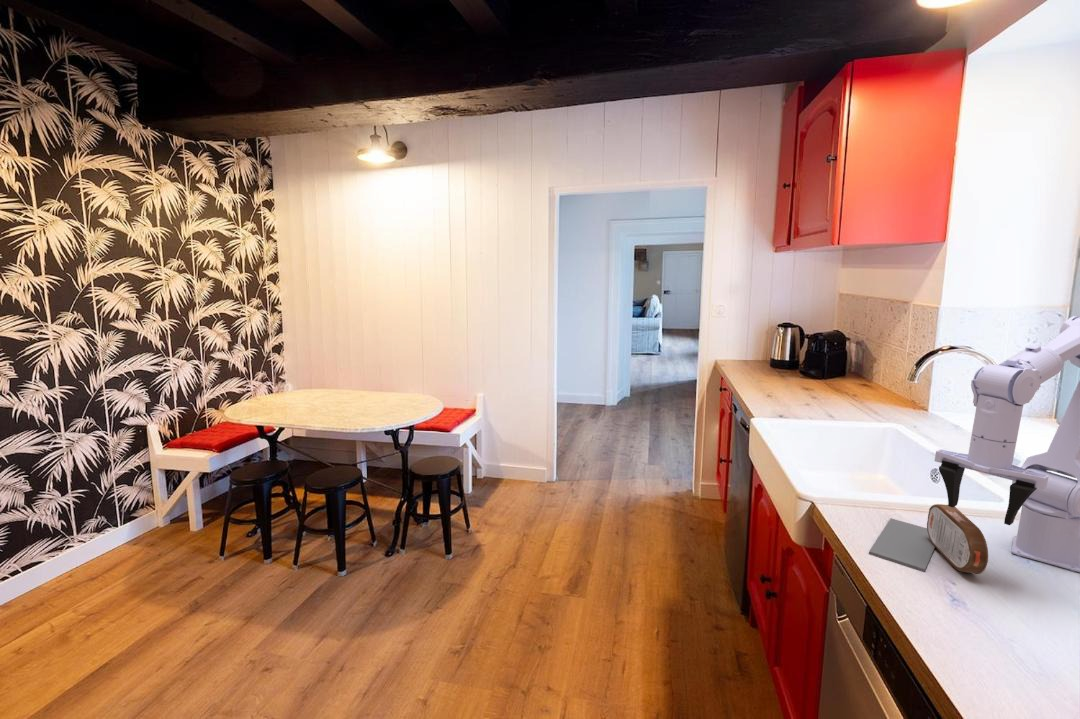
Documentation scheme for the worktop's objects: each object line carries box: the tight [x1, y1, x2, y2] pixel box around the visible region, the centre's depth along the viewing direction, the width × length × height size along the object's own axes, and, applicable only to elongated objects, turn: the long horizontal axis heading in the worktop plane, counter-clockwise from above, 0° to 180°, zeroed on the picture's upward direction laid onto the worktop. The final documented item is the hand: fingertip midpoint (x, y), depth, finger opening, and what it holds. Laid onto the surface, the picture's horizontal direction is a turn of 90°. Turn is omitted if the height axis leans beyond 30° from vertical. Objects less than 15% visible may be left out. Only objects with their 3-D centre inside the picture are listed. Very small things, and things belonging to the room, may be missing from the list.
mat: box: [868, 517, 936, 573], centre depth 102 cm, size 8×18×1 cm, turn 136°
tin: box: [926, 503, 989, 575], centre depth 95 cm, size 15×3×8 cm, turn 168°
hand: (979, 514), depth 90 cm, fingers open, 7 cm apart
